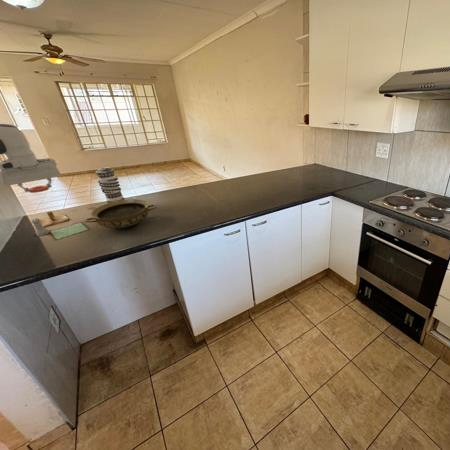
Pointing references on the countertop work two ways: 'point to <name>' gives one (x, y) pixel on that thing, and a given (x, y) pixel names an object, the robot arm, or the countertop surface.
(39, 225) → the rook chess piece
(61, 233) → the mat
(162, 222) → the countertop surface
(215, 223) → the countertop surface
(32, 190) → the ring
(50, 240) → the countertop surface
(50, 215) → the holder
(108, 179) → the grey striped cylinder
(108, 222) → the ceramic bowl
